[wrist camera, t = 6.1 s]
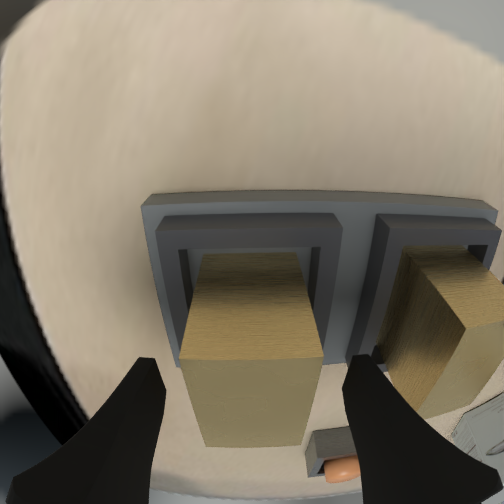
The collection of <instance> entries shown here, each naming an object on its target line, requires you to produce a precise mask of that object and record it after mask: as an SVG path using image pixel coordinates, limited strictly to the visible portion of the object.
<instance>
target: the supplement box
mask: <svg viewBox="0 0 504 504" xmlns="http://www.w3.org/2000/svg"><path fill="white" fill-rule="evenodd" d="M452 438H453V440H454V443H455V446H456V447H458V448H459V449H460V450H462V451H463V452H465V453H466V454H468V455H470V456H471V457H473V458H475V459H476V460H478V461H480V462H482V463H484V464H486V465H488V466H490V467H493V468H495V469H497V470H498V473H499V475H500V478H501V481H502V484H503V486H504V392H503V393H502V394H501V395H499V396H498V397H496V398H494V399H492V400H491V401H489V402H487V403H485V404H483V405H481V406H479V407H477V408H475V409H473V410H471V411H469V412H466V413H465V414H464V415H463V417H462V418H461V420H460V422H459V423H458V425H457V426H456V428H455V430H454V431H453V433H452Z"/></svg>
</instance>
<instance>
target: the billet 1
mask: <svg viewBox="0 0 504 504" xmlns="http://www.w3.org/2000/svg"><path fill="white" fill-rule="evenodd" d="M323 359H324V354H323V350H322V346H321V342H320V338H319V335H318V331H317V327H316V323H315V319H314V315H313V312H312V308H311V304H310V300H309V297H308V293H307V289H306V286H305V282H304V279H303V275H302V271H301V268H300V264H299V261H298V257H297V254H296V252H273V253H215V254H203V258H202V262H201V266H200V270H199V274H198V278H197V282H196V286H195V290H194V294H193V298H192V302H191V307H190V311H189V315H188V319H187V324H186V328H185V333H184V337H183V341H182V346H181V351H180V355H179V362H180V366H181V369H182V373H183V376H184V380H185V383H186V387H187V390H188V393H189V397H190V400H191V403H192V406H193V410H194V413H195V416H196V419H197V422H198V425H199V428H200V431H201V434H202V437H203V440H204V443H205V445H206V447H229V448H254V447H281V446H295V445H301V443H302V439H303V436H304V433H305V429H306V426H307V422H308V418H309V415H310V411H311V407H312V404H313V400H314V396H315V392H316V388H317V384H318V380H319V376H320V372H321V368H322V363H323Z"/></svg>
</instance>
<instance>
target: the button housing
mask: <svg viewBox="0 0 504 504" xmlns="http://www.w3.org/2000/svg"><path fill="white" fill-rule="evenodd" d="M355 455H357V453H356V449H355V445H354V441H353V438H352V434H351V430H350V426H349V427H343V428H336V429H328V430H319V431H313V433H312V436H311V439H310V442H309V445H308V448H307V450H306V453H305V458H306V466H307V474H308V477H316V476H324V475H325V471H324V464H323V462H324V460H330V459H337V458H343V457H349V456H355Z"/></svg>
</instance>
